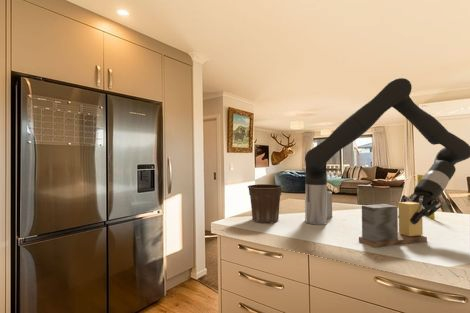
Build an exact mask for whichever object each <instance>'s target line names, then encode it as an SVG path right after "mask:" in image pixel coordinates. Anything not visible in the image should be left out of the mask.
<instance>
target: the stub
mask: <svg viewBox="0 0 470 313" xmlns="http://www.w3.org/2000/svg"><path fill="white" fill-rule="evenodd" d="M419 204H420V203H416V202H400V201H398V215H399V218H398V233H400V234H403V235H406V236H417V235H422V236H424V235H423V234H424V233H423V229H424V228H423V217H421V219H420V220H419V222H418V223H416V224H412V223H411V221H410V219H411V218H412V216H413V215H414V214H415V212H416V213H417V209H418V206H419Z"/></svg>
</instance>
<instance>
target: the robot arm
mask: <svg viewBox="0 0 470 313" xmlns="http://www.w3.org/2000/svg"><path fill="white" fill-rule="evenodd" d="M412 88H413V87H412V83H411V81H410V80H408V79H407V78H403V77H398V78H394V79H392V80H390V81H389V82H388V83H387V84H386V85H385V86H384V87H383V88H382V89H381V90H380V91H379V92H378V93H377V94H376V96H374V97H373V98H372V99H371V100H370V101H368V102H367V103H365V104H364V105H363V106H361V107H360V108H358V109H357V110H356V111H355V112H354V113H352V114H351V115H349V116H348V118H346V119H344V121H343V122H342V123H340V125H339V126H337V128H335V129H334V130H333V131H332V133H330V135H329V136H328V137H327V138H325V139H324V140H323V141H321V142H320V143H318V144H317V145H316V146H314V147H313V148H311V149H309V150H308V151H307V152H306V153H305V156H304V162H305V178H304V180H305V199H304V208H305V209H304V214H305V215H304V219H305V222H306V224H311V225H326V224H328V218H327V191H328V175H327V174H328V173H327V170H328V169H327V167H328V166H327V163H328V161H330V160H331V159H332V158H333V157H334V156H335V155H336V154H337V153H338V152H340V151H341V150H342V149H344V148H345V147H347V146H348V145H350V144H352V143H353V142H355V141H356V140H357V139H358V138H360V137H361V136H362V135H364V134H365V133H366V132H367V131H369V129H371V128H372V127H373V126H374V125H375V124H376V122H377V121H378V120H379V119H380V118H381V117H382V116H383V115H384V114H385V113H386V112H387V111H388V110H390V109H391V108H393V109H394V110H396V111H397V112H398V113H400V114H401V115H402V116H403V117H404V118H406V119H407V121H408V122H410V124H412V125H413V127H414V128H416V130H417V131H418V132H419V133H420V134H421V135H422V136H423V137H424V138H425V139H426V141H427V142H429V143H430V144H431V145H433V146H435V145H441V146H443V147H442V148H441V149H440V150H439V151H438V152H437V153H436V156H435V158H434V161H433V164H432V165H430V166H431V167H430V168H429V169H428V171H427V172H426V173H424V174H423V175H424V176H423V177H422V179H421V180H420V181H419V183H418V182H417V184H416V186H415V187H414V188H413V192H412V194H410V196H409V195H408V196H406V195H404V194H403V195H402V196H401V199H400V201H399V202H416V203H420V204H419V206H418V209H417V213H416V212H415V214H414V215H413V216H412V218H411V219H410V221H411V223H412V224H416V223H418V222H419V220H420V219H421V217H422V218H423V217H428V218H430V217H429V216H431V215H432V214H433V213H434V214H435V213H436V212H437V211H438V210H439V209H441V208H442V207H443V205H442V203H441V202H440V201H439V198H440V196H441V195H442V194H443V192H444V191H445V189H446V188H447V186H448V184H449V182H450V181H451V179H452V178H453V177H454V175H455V173H456V169H457V168H456V166H455V165H456V164H458V163H460V162H463V161H466V160H468V159H469V158H470V145H469V143H468V142H466V141H465V140H464V139H462V138H460V137H459V136H457V135H455V134H453V132H450V131H449V130H448V129H447V128H446V127H445V126H444V125H443V124H442V123H441V122H440V121H438V119H437V118H435V117H434V116H433V115H431V114H429V113H428V112H427V111H425V110H423V109H422V108H421V107H420V106H418V105H417V104H416V103H415V102H414V100H412V98H411V97H410V95H411V92H412ZM429 210H430V211H429ZM428 211H429V212H428ZM398 219H399V214H398Z"/></svg>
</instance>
